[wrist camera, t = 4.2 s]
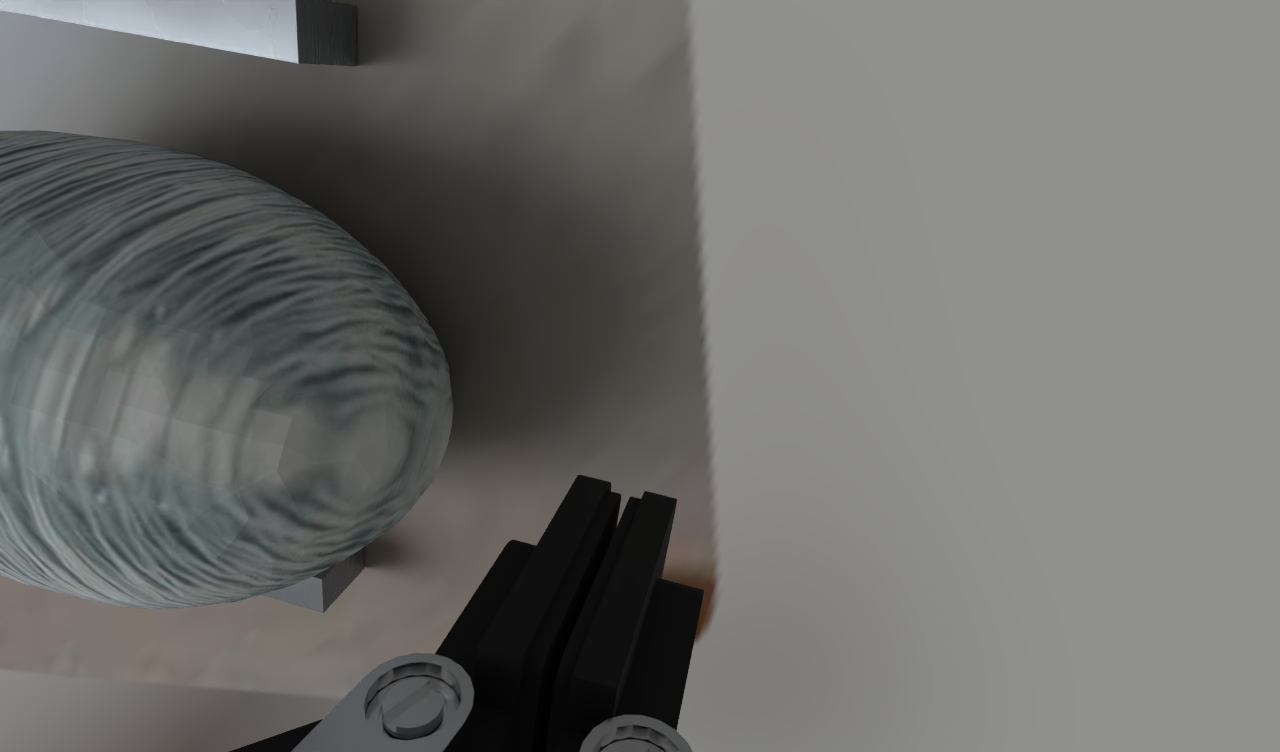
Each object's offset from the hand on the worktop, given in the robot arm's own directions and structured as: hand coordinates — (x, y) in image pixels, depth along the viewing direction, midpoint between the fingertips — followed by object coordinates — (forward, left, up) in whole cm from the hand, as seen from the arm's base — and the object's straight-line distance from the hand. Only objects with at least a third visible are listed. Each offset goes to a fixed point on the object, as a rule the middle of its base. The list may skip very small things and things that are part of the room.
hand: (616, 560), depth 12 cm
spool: (0, -11, -6) cm, 13 cm away
